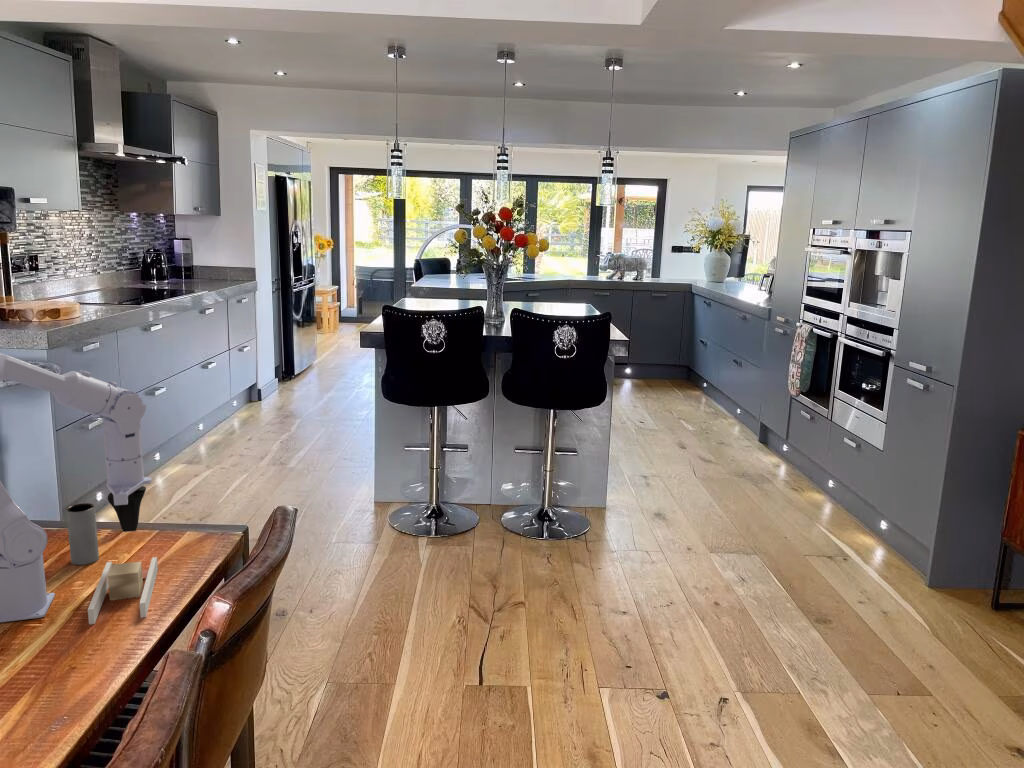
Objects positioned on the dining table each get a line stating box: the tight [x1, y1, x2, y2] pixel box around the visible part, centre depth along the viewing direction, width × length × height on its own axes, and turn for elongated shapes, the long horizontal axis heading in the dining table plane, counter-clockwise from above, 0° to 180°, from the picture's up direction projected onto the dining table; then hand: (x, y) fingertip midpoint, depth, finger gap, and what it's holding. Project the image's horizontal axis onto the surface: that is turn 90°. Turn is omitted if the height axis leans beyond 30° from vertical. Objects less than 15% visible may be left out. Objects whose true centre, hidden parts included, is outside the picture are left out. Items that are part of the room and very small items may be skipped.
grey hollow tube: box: [65, 502, 100, 566], centre depth 141 cm, size 4×4×10 cm
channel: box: [87, 556, 159, 625], centre depth 129 cm, size 8×18×2 cm, turn 19°
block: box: [108, 561, 144, 601], centre depth 130 cm, size 4×4×4 cm
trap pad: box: [142, 568, 149, 580], centre depth 136 cm, size 6×4×1 cm, turn 109°
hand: (130, 530), depth 136 cm, fingers closed
